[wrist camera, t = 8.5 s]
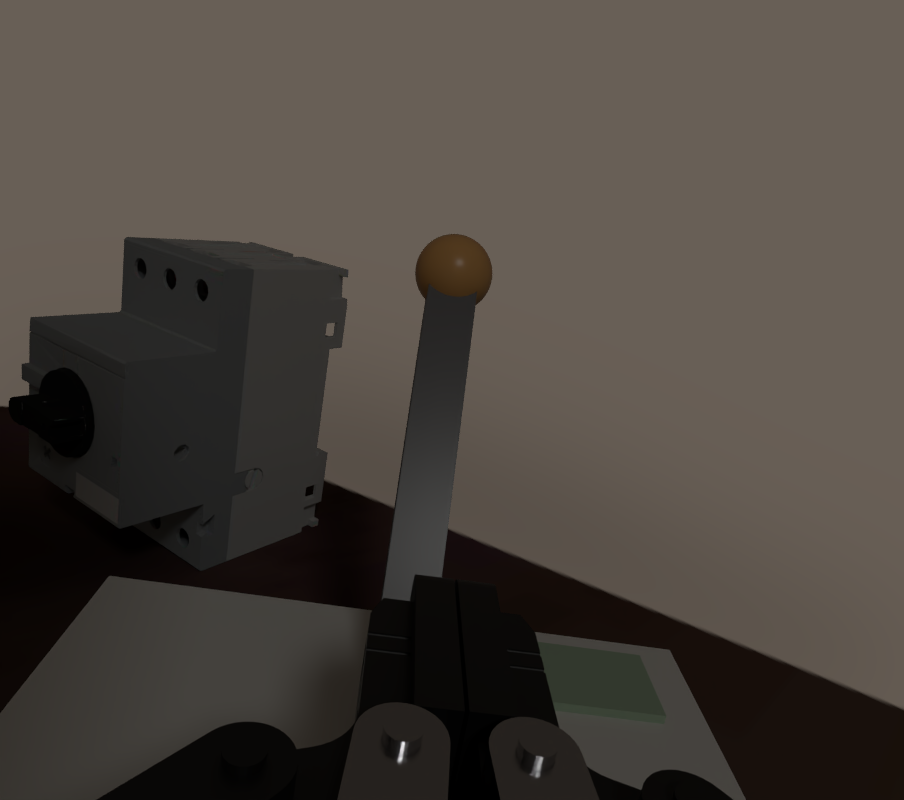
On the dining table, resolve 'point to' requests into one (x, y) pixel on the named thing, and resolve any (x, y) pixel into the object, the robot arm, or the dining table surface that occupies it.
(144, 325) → the circuit breaker
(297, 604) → the box
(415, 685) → the robot arm
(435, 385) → the breaker lever
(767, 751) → the dining table surface
